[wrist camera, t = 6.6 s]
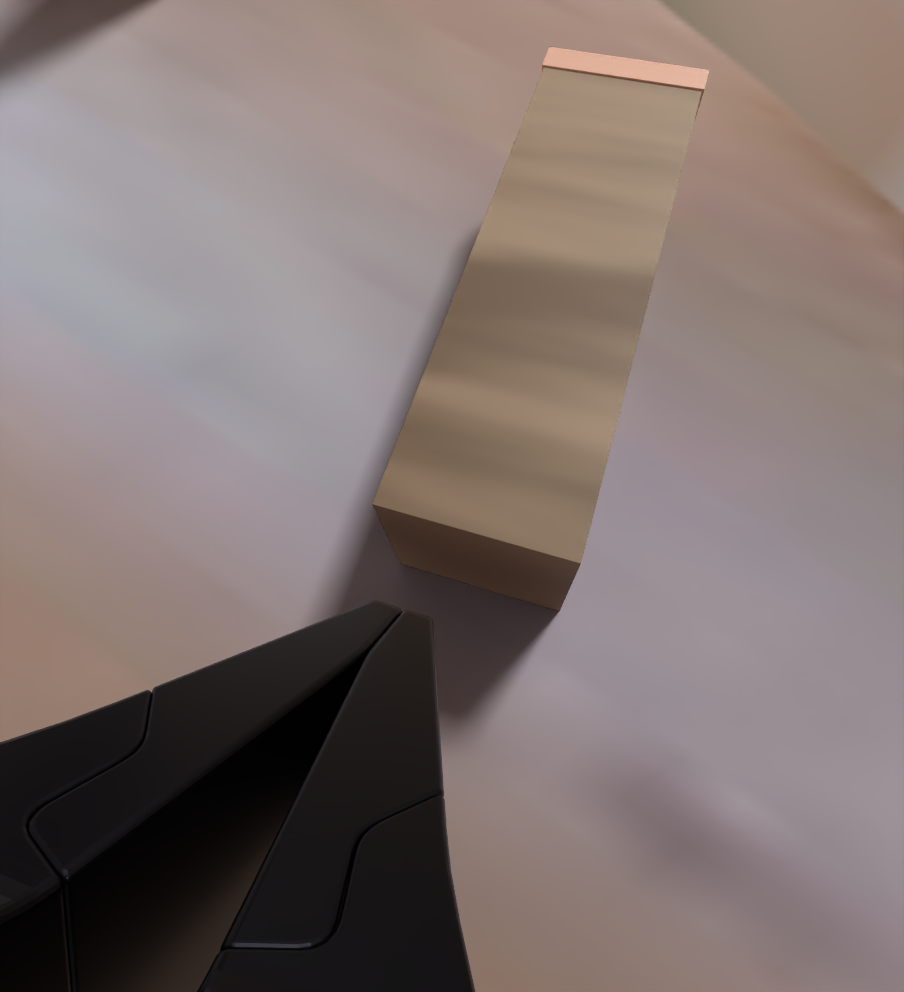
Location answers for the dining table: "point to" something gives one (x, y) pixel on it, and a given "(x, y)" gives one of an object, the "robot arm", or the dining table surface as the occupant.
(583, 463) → the wooden block
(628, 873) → the dining table surface
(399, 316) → the dining table surface
